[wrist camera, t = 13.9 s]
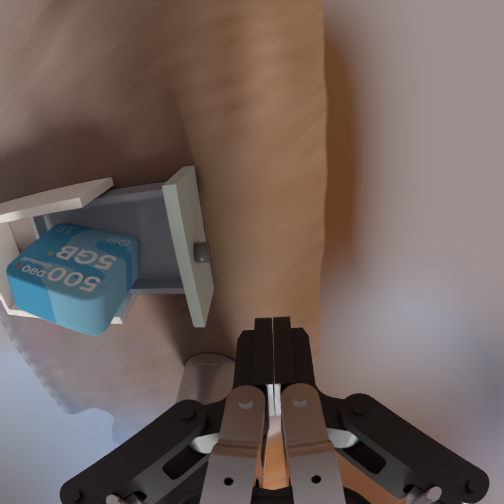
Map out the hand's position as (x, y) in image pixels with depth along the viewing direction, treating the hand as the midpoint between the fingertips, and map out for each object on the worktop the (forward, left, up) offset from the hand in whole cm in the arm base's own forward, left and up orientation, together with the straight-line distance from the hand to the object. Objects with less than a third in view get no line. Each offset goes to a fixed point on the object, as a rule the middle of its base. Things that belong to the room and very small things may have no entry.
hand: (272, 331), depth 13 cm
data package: (-4, +21, -19) cm, 28 cm away
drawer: (-4, +18, -20) cm, 27 cm away
